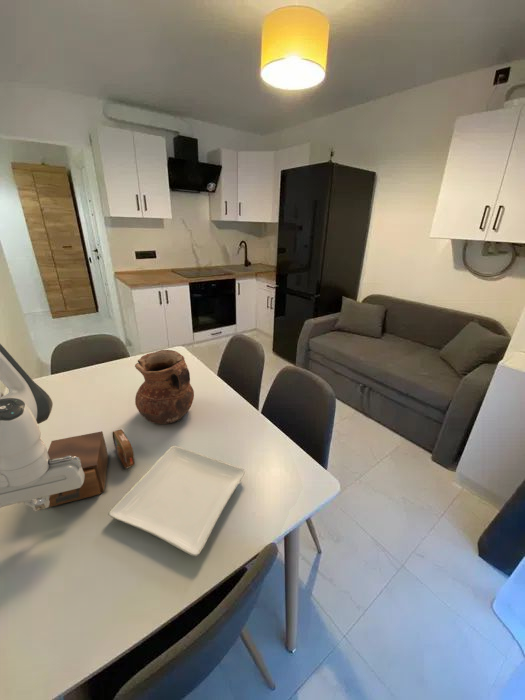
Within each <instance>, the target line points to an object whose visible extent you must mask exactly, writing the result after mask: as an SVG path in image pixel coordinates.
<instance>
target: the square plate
mask: <svg viewBox="0 0 525 700" xmlns="http://www.w3.org/2000/svg"><path fill="white" fill-rule="evenodd" d="M245 473H246V470H245V469H244V468H241V467H239V466H236V465H233V464H231V463H227V462H225V461H221V460H218V459H216V458H212V457H210V456H207V455H205V454H204V455H203V454H201V453H199V452H195V451H192V450H189V449H187V448H185V447H184V448H183V447H181V446H177V445H172V446H170V447H169V448H168V449H167V450H166V451H165V452H164V453H163V454H162V455H161V457H160V458H158V460H157V461H155V463H154V464H152V466H150V468H149V469H148V470H147V471H146V472H145V473H144V474H143V475H142V476H141V477H140V478H139V479H138V481H136V483H135V484H134V485H132V487H130V488H129V490H127V492H126V493H125V494H123V496H122V497H121V498H120V499H119V500H118V501H117V502H116V504H115V505H113V506H112V508H111V509H109V511H108V513H107V515H108V516H109V517H110V518H112V519H115V520H116V521H120V522H121V523H125V524H126V525H129V526H132V527H135V528H136V529H139V530H142V531H144V532H146V533H148V534H151V535H153V536H155V537H156V538H158V539H160V540H162V541H164V542H166V543H168V544H170V545H171V546H173V547H174V548H177V549H178V550H180V551H182V552H184V553H186V554H188V555H189V556H192V557H196V556H199V555H200V553H201V552H202V551H203V549H204V548H205V546H206V544H207V541H208V540H209V537H210V536H211V533H212V531H213V530H214V528H215V526H216V524H217V522H218V520H219V518H220V516H221V515H222V513H223V510H224V509H225V507H226V506H227V504H228V502H229V501H230V499H231V497H232V495H233V494H234V492H235V490H236V489H237V487H238V486H239V484H240V483H241V481H242V479H243V477H244V476H245Z"/></svg>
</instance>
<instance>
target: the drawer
mask: <svg viewBox="0 0 525 700" xmlns="http://www.w3.org/2000/svg"><path fill="white" fill-rule="evenodd" d="M84 474H85V478H84V483H83V485H82V486H81V487H80V488H78V489H73V490H69V491H65V492H61V493H57V494H53V495H50V498H49V501H50V504H49V507H48V508H53V507H55V506H59V505H63V504H67V503H70V502H75V501H79V500H82V499H86V498H92V497H94V496H98V495H101V489H100V485H99V482H98V478H97V474H96V471H95V468H90V469H89V470H84Z"/></svg>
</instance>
